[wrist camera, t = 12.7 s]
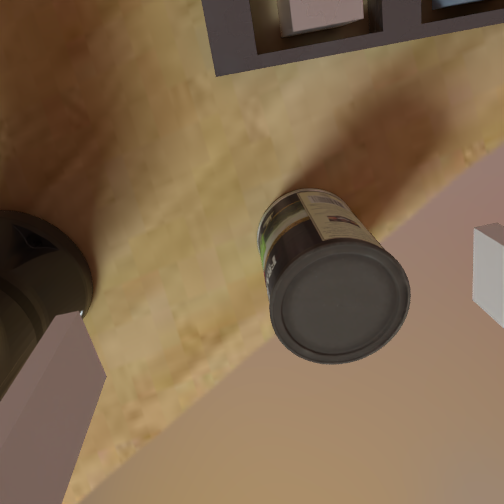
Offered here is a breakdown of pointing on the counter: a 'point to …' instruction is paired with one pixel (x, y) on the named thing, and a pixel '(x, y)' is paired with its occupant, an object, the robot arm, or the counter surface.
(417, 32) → the dark grey compartment tray
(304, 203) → the coffee can
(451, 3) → the blue-grey rectangular block
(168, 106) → the counter surface
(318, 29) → the pale wooden cube
